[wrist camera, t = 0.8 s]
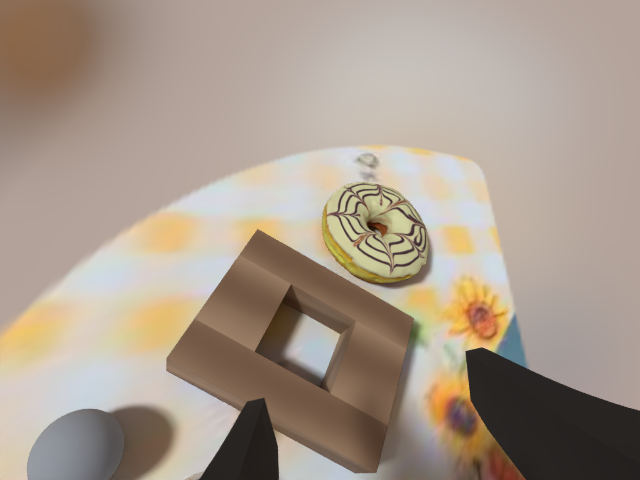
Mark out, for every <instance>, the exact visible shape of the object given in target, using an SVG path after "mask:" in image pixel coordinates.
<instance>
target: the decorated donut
mask: <svg viewBox="0 0 640 480" xmlns="http://www.w3.org/2000/svg"><path fill="white" fill-rule="evenodd" d="M367 226H374V227H375V228H377V229H378V230H379V231H380V232H381V235H382V237H381V236H380V235H378V234H377V233H375V232H373V231H371V230H370V229H369V228H368V227H367ZM322 231H323V237H324V240H325V244H326V246H327V248H328V250H329V251H330V252H331V254H332V255H333V256H334V258H335V259H336V261H337V262H338V263H339V264H340V265H341V266H343V267H344V268H345V269H346V270H348V271H349V272H350V273H351V274H352V275H354V276H356V277H359V278H360V279H362V280H365V281H368V282H371V283H392V282H397V281H402V280H405V279H409V278H412V277H413V276H414V275H415V274H417V273H418V272H419V271H420V269H421V267H422V266H423V265H426V262H427V254H428V247H429V242H428V236H427V231H426V228H425V225H424V223H423V221H422V219H421V217H420V215H419V214H418V212H417V211H416V210H415V208H414V207H413V206H412V205H411V203H410V202H409V201H408V200H407V199H405V198H404V197H403V196H402V195H401V194H400V193H399V192H398V191H396V190H394V189H392V188H390V187H386V186H382V185H378V184H373V183H366V182H357V183H351V184H348V185H345V186H343V187H342V188H340V189H339V190H337V191H336V192H335V193H334V194H333V195H332V196H331V198H330V199H329V201H328V202H327V203H326V205H325V207H324V210H323V217H322Z"/></svg>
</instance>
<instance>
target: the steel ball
mask: <svg viewBox="0 0 640 480" xmlns="http://www.w3.org/2000/svg"><path fill="white" fill-rule="evenodd" d="M203 473H204V472H200V473H197V474H194V475H192V476H190V477H188V478H187V479H185V480H199V479H200V477H201V476H202V474H203Z"/></svg>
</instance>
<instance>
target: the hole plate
mask: <svg viewBox="0 0 640 480" xmlns="http://www.w3.org/2000/svg"><path fill="white" fill-rule="evenodd" d="M282 301H283V302H284V303H286V304H288V305H290V306H292V307H293V308H295V309H297V310H299V311H300V312H302V313H304V314H306V315H308V316H309V317H311V318H313V319H315V320H316V321H318V322H320V323H322V324H324V325H325V326H327V327H329V328H331V329H332V330H334V331H336V332H338V333H340V334H341V335H340V337H339V340H338V343H337V345H336V348H335V350H334V353H333V356H332V358H331V361H330V363H329V366H328V369H327V371H326V374H325V376H324V379H323V382H322V384H321V387H320V388H319V387H318V386H316V385H314V384H312V383H310V382H308V381H307V380H305V379H303V378H301V377H299V376H298V375H296V374H294V373H292V372H290V371H289V370H287V369H285V368H283V367H281V366H280V365H278V364H276V363H274V362H272V361H270V360H269V359H267V358H265V357H263V356H261V355H260V354H258V353H256V352H255V350H256V348H257V346H258V344H259V342H260V340H261V339H262V337H263V335H264V333H265V331H266V329H267V327H268V326H269V324H270V322H271V320H272V318H273V316H274V315H275V313H276V311H277V309H278V307H279V305H280V303H281V302H282ZM413 320H414V318H413V317H411V316H409V315H407V314H406V313H404V312H402V311H400V310H399V309H397V308H395V307H393V306H392V305H390V304H388V303H386V302H385V301H383V300H381V299H379V298H378V297H376V296H374V295H372V294H371V293H369V292H367V291H365V290H364V289H362V288H360V287H358V286H357V285H355V284H353V283H351V282H350V281H348V280H346V279H344V278H343V277H341V276H339V275H337V274H335V273H334V272H332V271H330V270H328V269H327V268H325V267H323V266H321V265H320V264H318V263H316V262H314V261H313V260H311V259H309V258H307V257H306V256H304V255H302V254H300V253H299V252H297V251H295V250H293V249H292V248H290V247H288V246H286V245H285V244H283V243H281V242H279V241H278V240H276V239H274V238H272V237H271V236H269V235H267V234H265V233H264V232H262V231H260V230H258V229H257V231H256V232H255V234H254V235H253V236H252V238H251V239H250V241H249V242H248V243H247V245H246V246H245V248H244V249H243V251H242V252H241V253H240V255H239V256H238V258H237V259H236V260H235V262H234V263H233V265H232V266H231V268H230V269H229V270H228V272H227V273H226V275H225V276H224V278H223V279H222V280H221V282H220V283H219V285H218V286H217V287H216V289H215V290H214V292H213V293H212V295H211V296H210V297H209V299H208V300H207V302H206V303H205V304H204V306H203V307H202V309H201V310H200V312H199V313H198V314H197V316H196V317H195V319H194V320H193V322H192V323H191V324H190V326H189V327H188V329H187V330H186V331H185V333H184V334H183V336H182V337H181V339H180V340H179V341H178V343H177V344H176V346H175V347H174V349H173V350H172V351H171V353H170V354H169V356H168V357H167V364H166V371H168V372H170V373H172V374H174V375H175V376H177V377H179V378H181V379H183V380H185V381H186V382H188V383H190V384H192V385H194V386H196V387H197V388H199V389H201V390H203V391H205V392H207V393H208V394H210V395H212V396H214V397H216V398H218V399H220V400H221V401H223V402H225V403H227V404H229V405H231V406H232V407H234V408H236V409H238V410H240V411H242V409H243V407H244V405H245V404H246V402H247V401H252V400H256V399H260V398H265V401H266V405H267V409H268V412H269V416H270V420H271V423H272V427H273V429H275V430H277V431H278V432H280V433H282V434H284V435H286V436H288V437H289V438H291V439H293V440H295V441H297V442H299V443H300V444H302V445H304V446H306V447H308V448H310V449H312V450H313V451H315V452H317V453H319V454H321V455H323V456H324V457H326V458H328V459H330V460H332V461H334V462H335V463H337V464H339V465H341V466H343V467H345V468H346V469H348V470H350V471H352V472H354V473H376V472H377V468H378V464H379V460H380V456H381V452H382V448H383V444H384V439H385V435H386V431H387V427H388V423H389V419H390V415H391V411H392V407H393V403H394V398H395V394H396V390H397V386H398V382H399V378H400V374H401V370H402V366H403V362H404V357H405V353H406V349H407V345H408V341H409V337H410V333H411V329H412V325H413Z"/></svg>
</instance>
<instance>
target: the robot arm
mask: <svg viewBox="0 0 640 480" xmlns="http://www.w3.org/2000/svg"><path fill="white" fill-rule="evenodd" d="M465 352H466V361H467V370H468V379H469V388H470V398H471V402H472V403H473V405H474V407H475V409H476V410H477V412H478V414H479V416H480V417H481V419H482V421H483V422H484V424H485V426H486V427H487V429H488V430H489V431H490V433H491V434H492V435H493V437H494V438H495V439H496V441H497V442H498V443H499V445H500V446H501V447H502V449H503V450H504V451H505V453H506V454H507V455H508V457H509V458H510V459H511V460H512V462H513V463H514V464H515V466H516V467H517V468H518V470H519V471H520V472H521V474H522V475H523V476H524V478H525V479H526V480H640V411H638V410H635V409H631V408H628V407H624V406H621V405H618V404H614V403H611V402H608V401H606V400H603V399H600V398H597V397H594V396H591V395H588V394H585V393H583V392H580V391H578V390H575V389H572V388H570V387H568V386H565V385H563V384H560V383H558V382H555V381H553V380H551V379H548V378H546V377H544V376H542V375H540V374H537V373H535V372H533V371H531V370H529V369H527V368H525V367H522V366H520V365H518V364H516V363H514V362H512V361H510V360H508V359H506V358H504V357H502V356H500V355H498V354H496V353H494V352H491V351H489V350H487V349H485V348H477V349H473V350H469V351H465ZM199 480H279V466H278V445H277V441H276V438H275V434H274V431H273V427H272V423H271V420H270V416H269V412H268V409H267V405H266V401H265V398H260V399H256V400H252V401H247V402H246V404H245V405H244V407H243V409H242V411H241V413H240V414H239V416H238V418H237V420H236V422H235V423H234V425H233V427H232V429H231V430H230V432H229V434H228V435H227V437H226V439H225V440H224V442H223V444H222V445H221V447H220V449H219V450H218V452H217V453H216V455H215V457H214V458H213V460H212V461H211V463H210V464H209V465H208V467H207V468H206V470H205V471H204V473H203V474H202V476H201V477H200V479H199Z"/></svg>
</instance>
